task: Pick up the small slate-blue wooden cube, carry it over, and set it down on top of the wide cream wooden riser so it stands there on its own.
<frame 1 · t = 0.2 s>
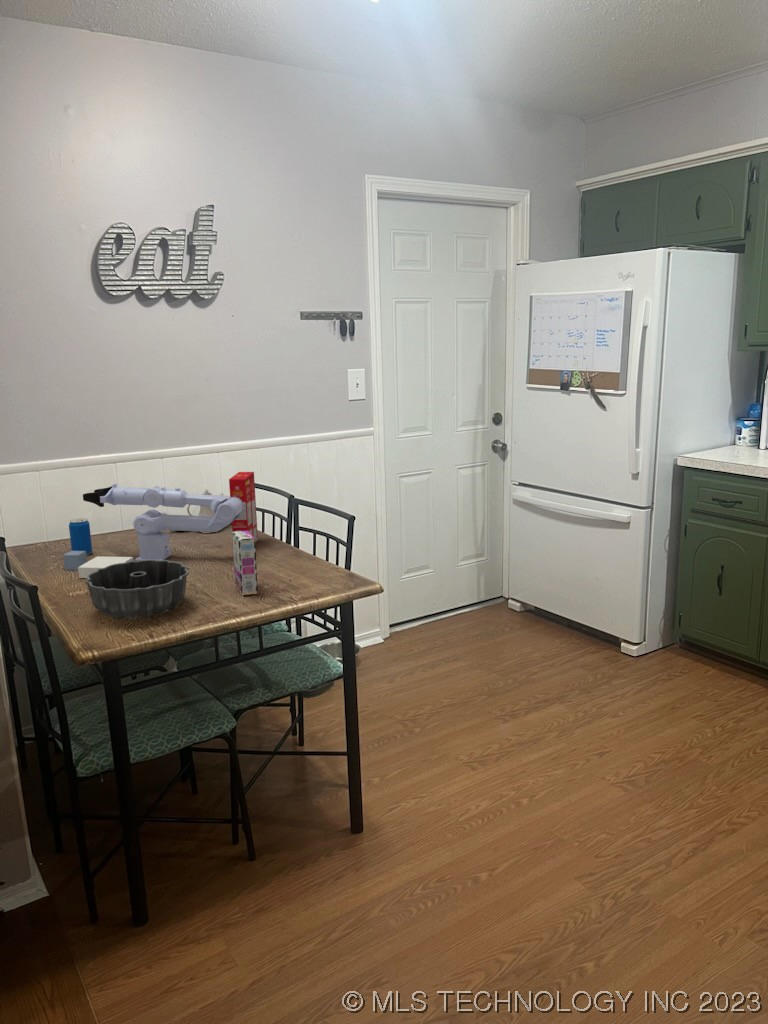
hand: (89, 495, 248), 21 cm above the table, tool horizontal, fingers open, 7 cm apart
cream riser: (107, 574, 235), on the table
bundt pan: (141, 609, 203), on the table
candy bar box: (246, 590, 216), on the table
chinaware: (206, 530, 289), on the table
beverage can: (82, 555, 257), on the table
food packaging: (246, 546, 264), on the table
blue cube: (76, 568, 241), on the table
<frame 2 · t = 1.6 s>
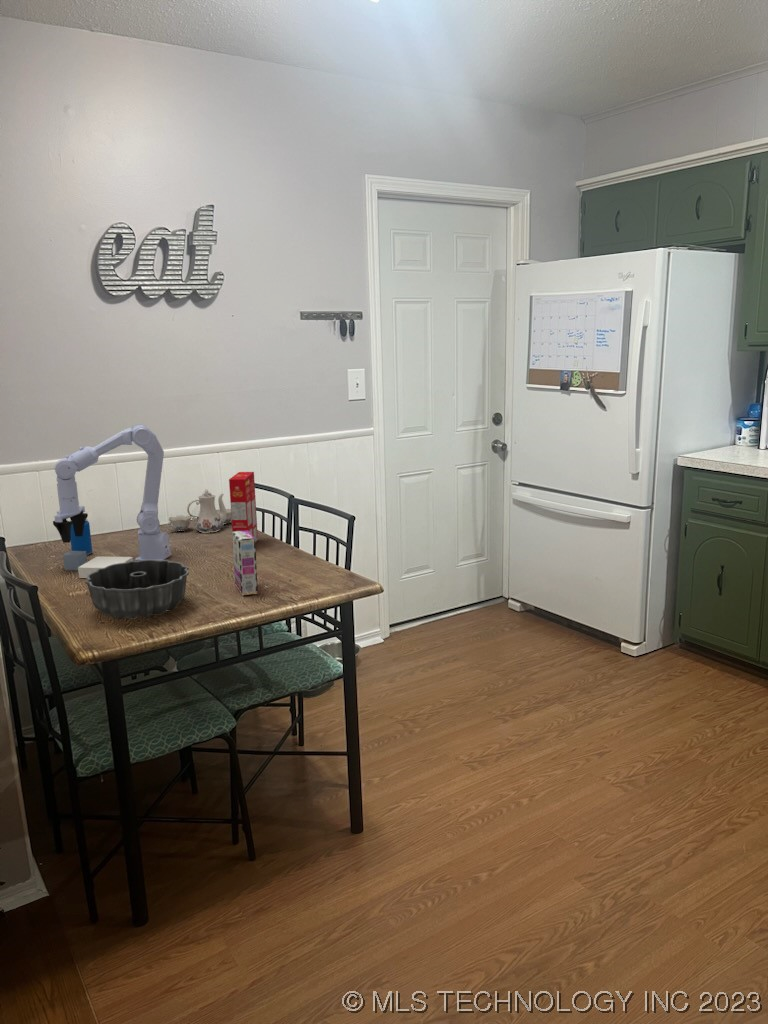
hand: (73, 539, 239), 9 cm above the table, tool pointing down, fingers open, 7 cm apart
nothing on the table moved.
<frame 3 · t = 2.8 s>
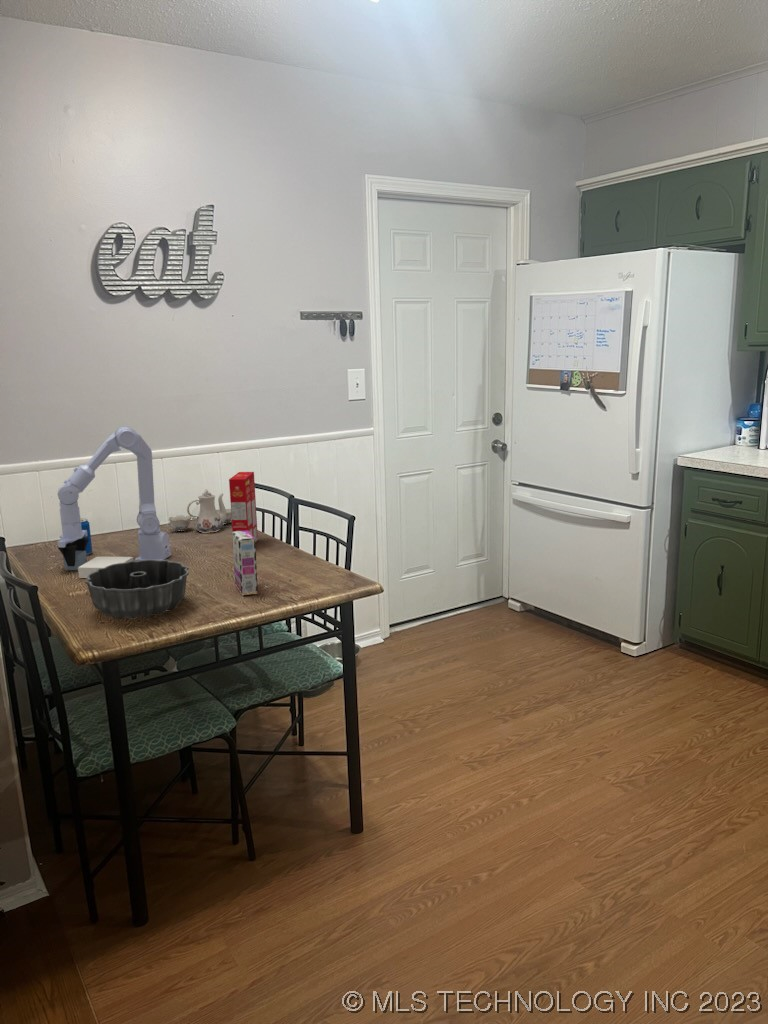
hand: (75, 563, 241), 1 cm above the table, tool pointing down, fingers closed on blue cube, 5 cm apart
blue cube: (76, 567, 241), on the table, touching gripper
everything else where it was.
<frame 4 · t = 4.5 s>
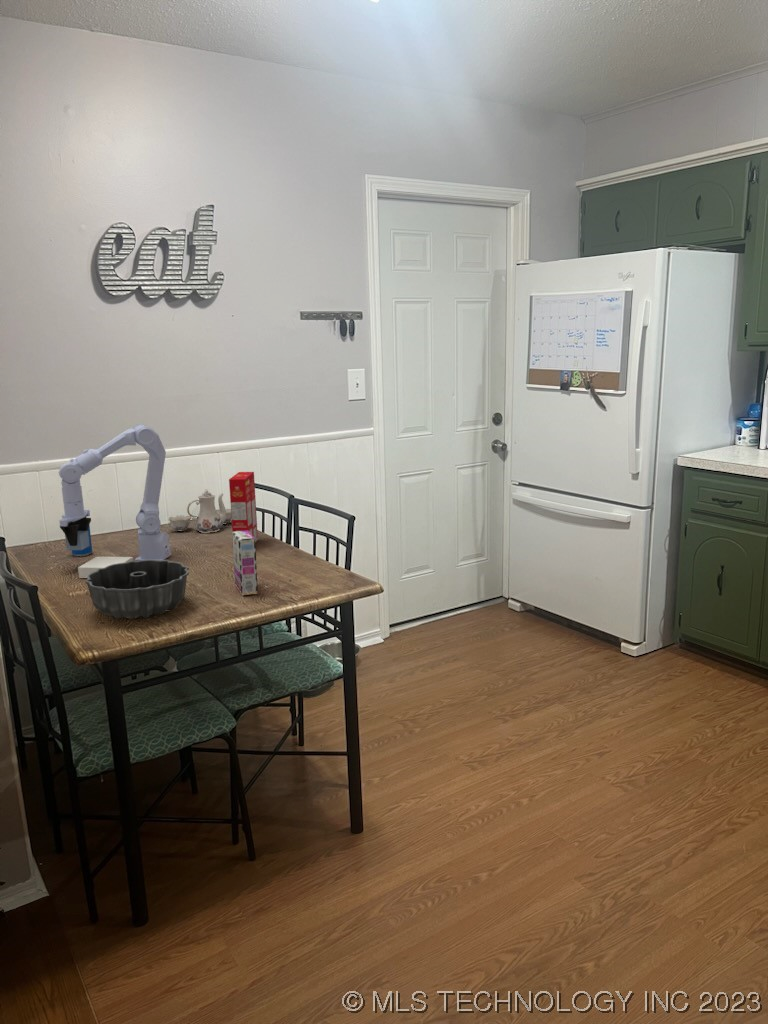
hand: (78, 543, 239), 8 cm above the table, tool pointing down, fingers closed on blue cube, 5 cm apart
blue cube: (78, 547, 239), point 7 cm above the table, touching gripper
everything else where it was.
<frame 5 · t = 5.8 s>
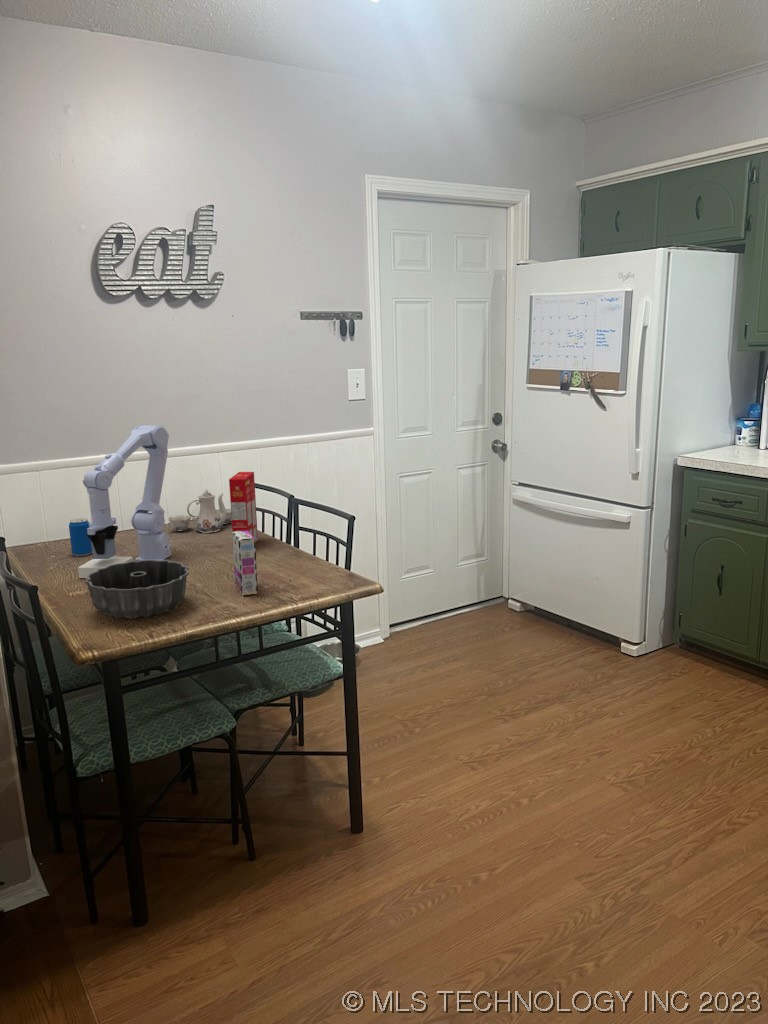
hand: (104, 551, 233), 7 cm above the table, tool pointing down, fingers closed on blue cube, 5 cm apart
blue cube: (104, 556, 234), point 5 cm above the table, touching gripper
everything else where it was.
when the fingers open (7 cm above the table, at t = 6.4 s): blue cube drops 2 cm, point 4 cm above the table.
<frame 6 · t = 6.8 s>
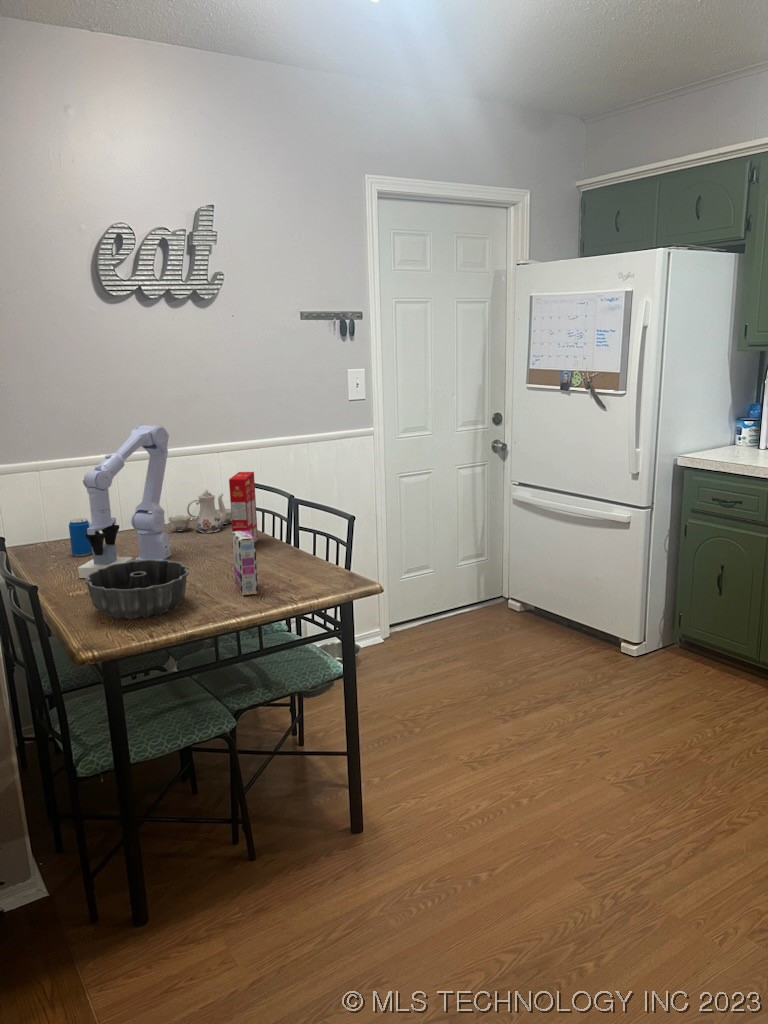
hand: (104, 551, 233), 7 cm above the table, tool pointing down, fingers open, 7 cm apart
blue cube: (105, 562, 234), point 4 cm above the table
everything else where it was.
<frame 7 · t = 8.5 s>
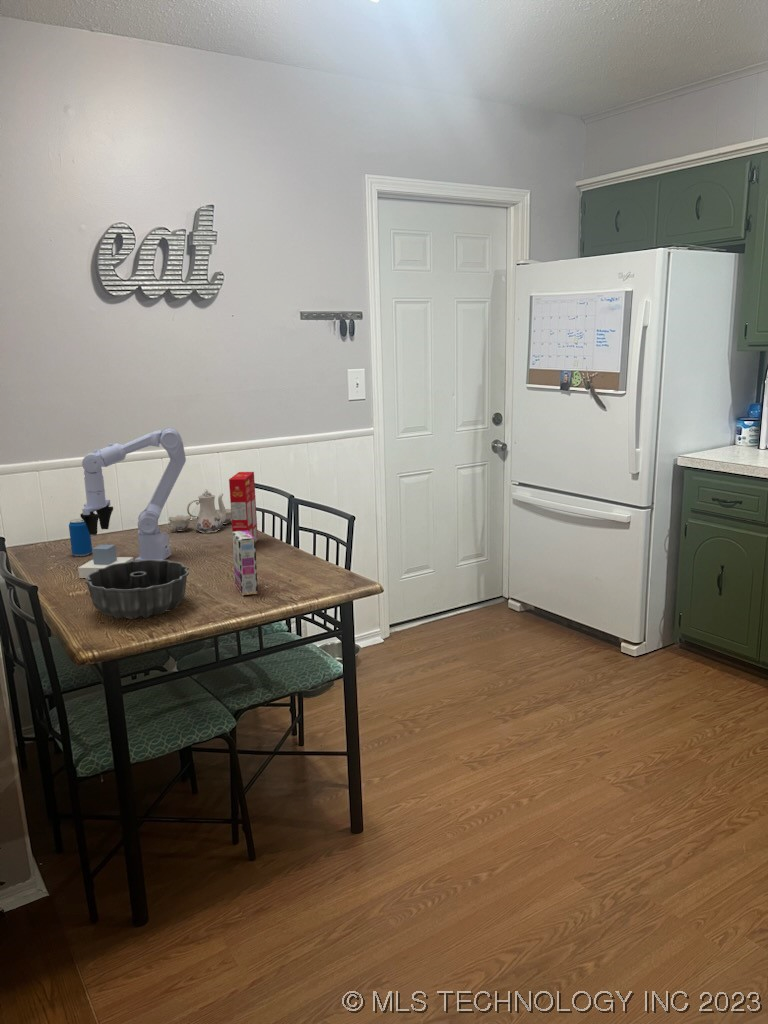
hand: (99, 531, 244), 10 cm above the table, tool pointing down, fingers open, 7 cm apart
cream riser: (107, 574, 235), on the table, touching blue cube
blue cube: (105, 562, 234), point 3 cm above the table, touching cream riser
everything else where it was.
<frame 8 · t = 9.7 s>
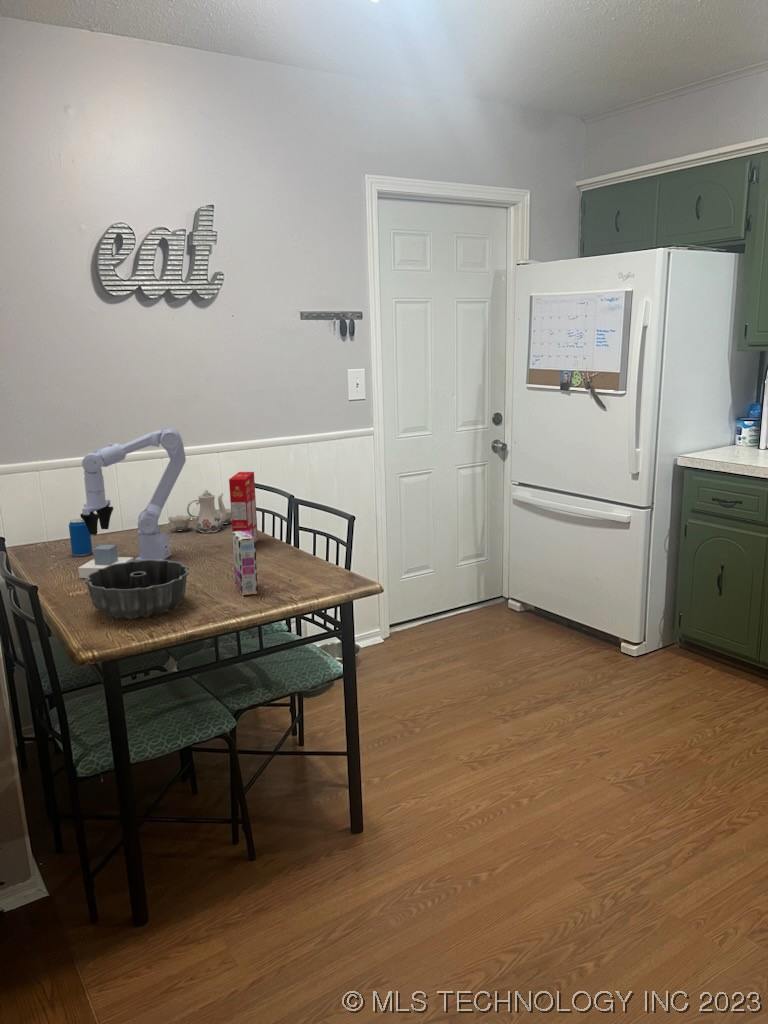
hand: (99, 531, 244), 10 cm above the table, tool pointing down, fingers open, 7 cm apart
nothing on the table moved.
at the end: blue cube inside the target area on the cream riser (0.2 cm from its centre), point 4.1 cm above the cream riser's base; blue cube tilted 1°; the gripper is holding nothing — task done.
